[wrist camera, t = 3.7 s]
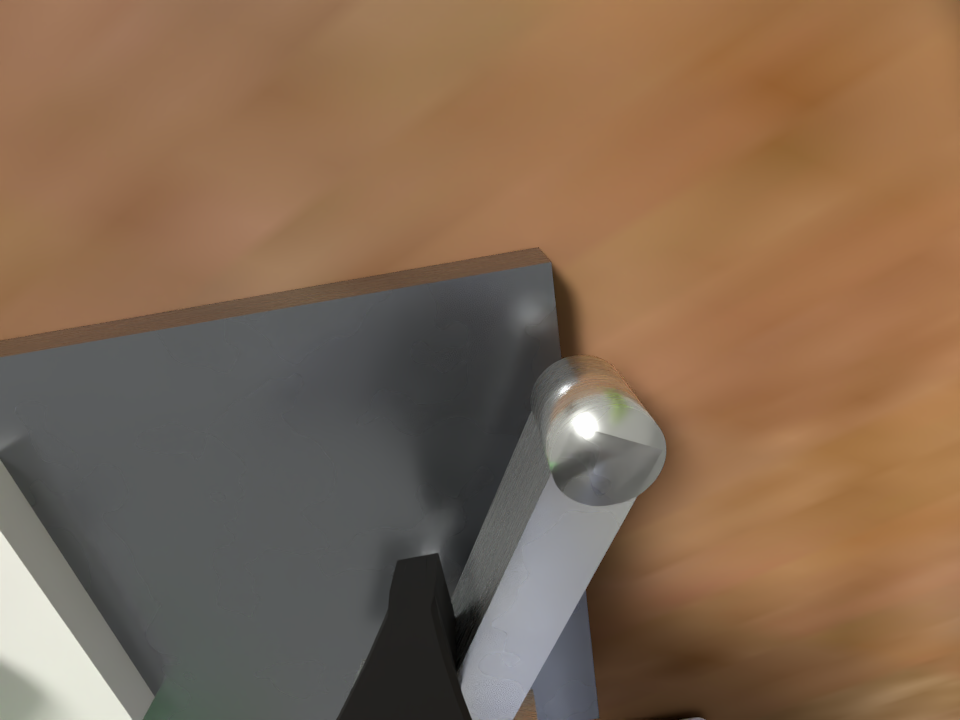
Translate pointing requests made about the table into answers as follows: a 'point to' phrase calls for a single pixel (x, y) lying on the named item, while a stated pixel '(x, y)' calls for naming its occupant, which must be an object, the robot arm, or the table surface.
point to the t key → (549, 529)
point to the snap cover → (55, 631)
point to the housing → (284, 473)
